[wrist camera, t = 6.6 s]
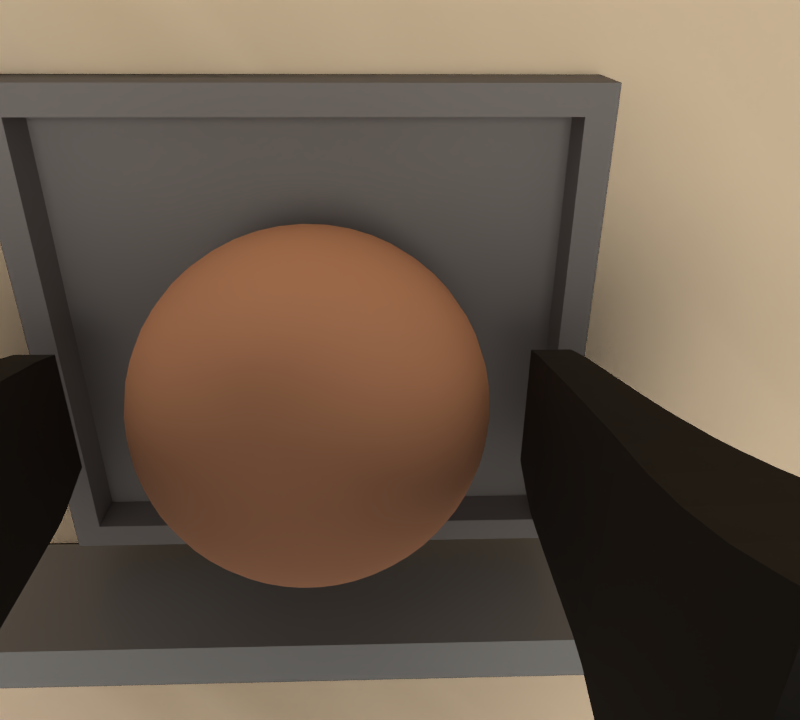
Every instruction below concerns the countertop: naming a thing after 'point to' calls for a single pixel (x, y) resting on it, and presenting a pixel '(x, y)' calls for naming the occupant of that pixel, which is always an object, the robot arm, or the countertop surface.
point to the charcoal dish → (298, 204)
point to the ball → (306, 405)
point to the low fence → (284, 619)
